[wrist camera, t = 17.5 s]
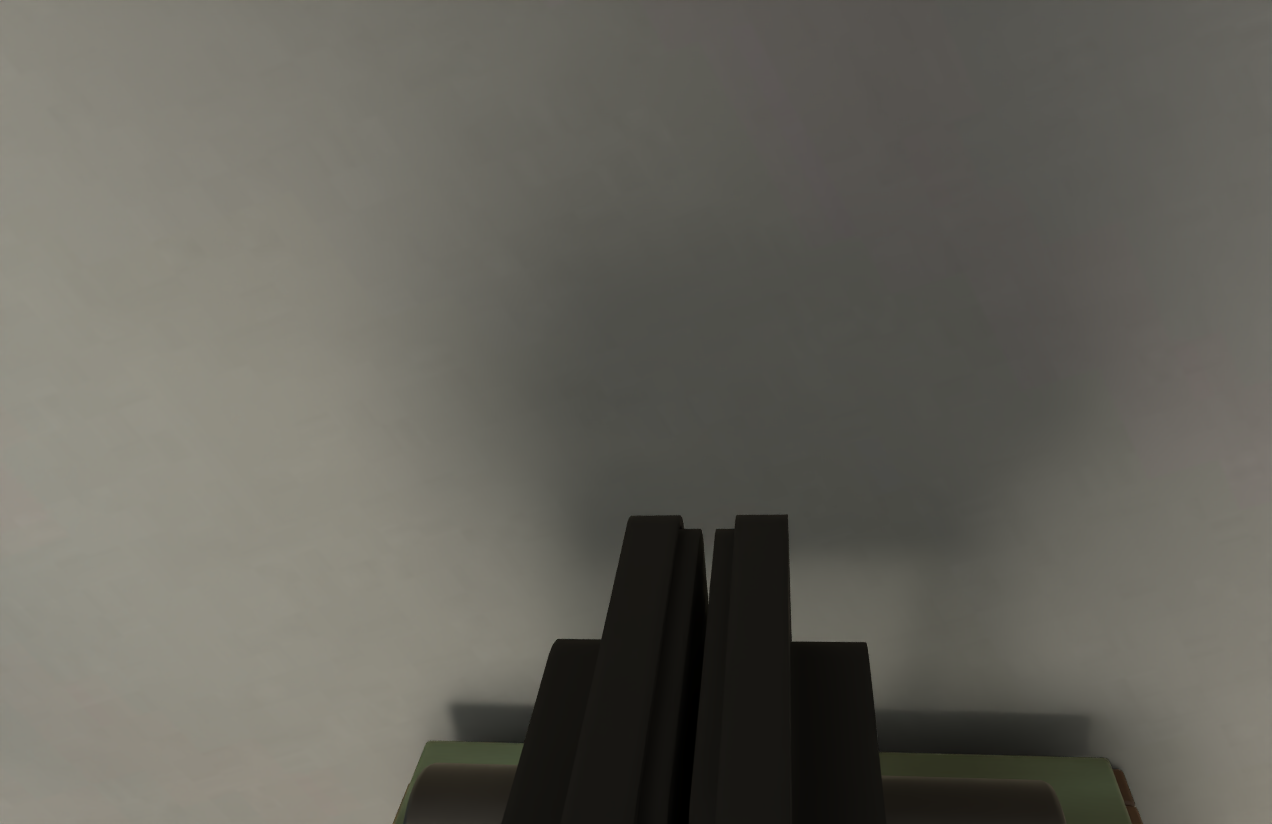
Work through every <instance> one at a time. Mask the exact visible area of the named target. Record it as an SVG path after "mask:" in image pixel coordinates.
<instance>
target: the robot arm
mask: <svg viewBox="0 0 1272 824" xmlns="http://www.w3.org/2000/svg"><path fill="white" fill-rule="evenodd" d="M501 824H886V814H885V805H884V795H883V786H882V776H881V767H880V757H879V748H878V738H877V729H876V719H875V710H874V700H873V691H872V682H871V672H870V663H869V654H868V647H867V643H866V642H792V634H791V601H790V567H789V534H788V515H736V519H735V529H716V531H715V540H714V551H713V561H712V572H711V583H710V593H709V604H708V593H707V580H706V568H705V555H704V543H703V534H702V530H701V529H684V523H683V519H682V516H681V515H667V516H630V517H629V520H628V523H627V527H626V532H625V536H624V540H623V545H622V549H621V554H620V558H619V563H618V567H617V572H616V576H615V581H614V585H613V590H612V594H611V599H610V603H609V608H608V612H607V617H606V621H605V626H604V630H603V635H602V639H601V640H600V639H557V640H556V641H555V642H554V644H553V645H552V648H551V651H550V653H549V656H548V660H547V663H546V667H545V670H544V674H543V678H542V681H541V685H540V688H539V692H538V695H537V699H536V702H535V706H534V709H533V713H532V717H531V720H530V724H529V727H528V731H527V734H526V738H525V741H524V745H523V748H522V752H521V756H520V759H519V763H518V766H517V770H516V773H515V777H514V780H513V784H512V787H511V791H510V795H509V798H508V802H507V805H506V809H505V812H504V816H503V819H502V823H501Z"/></svg>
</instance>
